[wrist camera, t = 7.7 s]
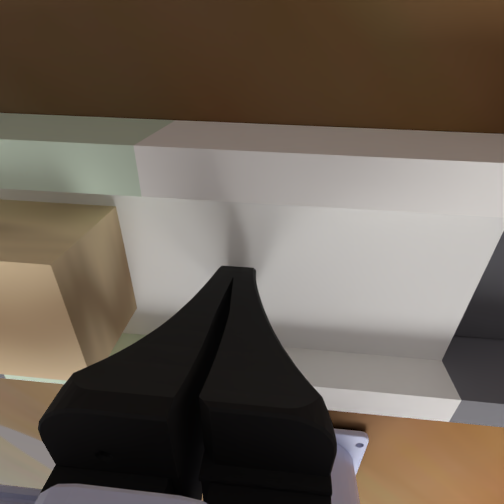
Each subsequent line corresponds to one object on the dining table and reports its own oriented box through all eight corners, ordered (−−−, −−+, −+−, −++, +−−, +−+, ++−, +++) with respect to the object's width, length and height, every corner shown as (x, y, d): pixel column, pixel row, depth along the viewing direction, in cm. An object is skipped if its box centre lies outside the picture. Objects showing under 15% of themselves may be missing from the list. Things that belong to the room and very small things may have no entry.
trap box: (556, 361, 17) (624, 439, 14) (-58, 309, 19) (-132, 365, 16) (720, 143, 11) (909, 182, 8) (-184, 105, 13) (-343, 123, 10)
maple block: (137, 307, 15) (92, 383, 12) (32, 299, 15) (-41, 370, 12) (115, 206, 12) (50, 264, 9) (-10, 198, 13) (-119, 252, 9)
